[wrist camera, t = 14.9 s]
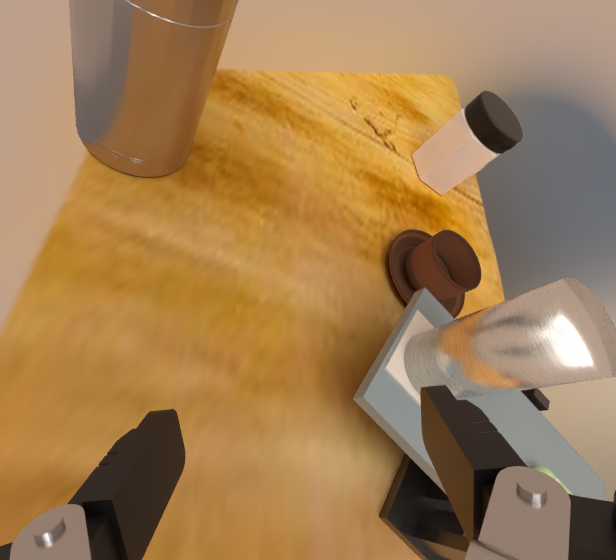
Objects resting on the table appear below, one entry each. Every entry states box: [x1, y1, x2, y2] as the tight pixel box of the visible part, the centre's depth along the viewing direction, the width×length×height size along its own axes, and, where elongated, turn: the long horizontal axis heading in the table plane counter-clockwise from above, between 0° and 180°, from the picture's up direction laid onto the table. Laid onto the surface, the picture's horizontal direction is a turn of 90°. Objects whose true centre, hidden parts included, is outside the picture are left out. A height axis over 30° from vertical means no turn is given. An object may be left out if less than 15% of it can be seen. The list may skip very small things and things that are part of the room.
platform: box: [353, 288, 605, 500], centre depth 29 cm, size 25×12×7 cm, turn 52°
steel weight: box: [404, 278, 616, 400], centre depth 22 cm, size 5×5×11 cm
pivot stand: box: [379, 388, 549, 560], centre depth 31 cm, size 8×16×9 cm, turn 142°
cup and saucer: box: [389, 230, 481, 318], centre depth 41 cm, size 12×12×6 cm
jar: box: [412, 91, 523, 196], centre depth 50 cm, size 9×8×12 cm
